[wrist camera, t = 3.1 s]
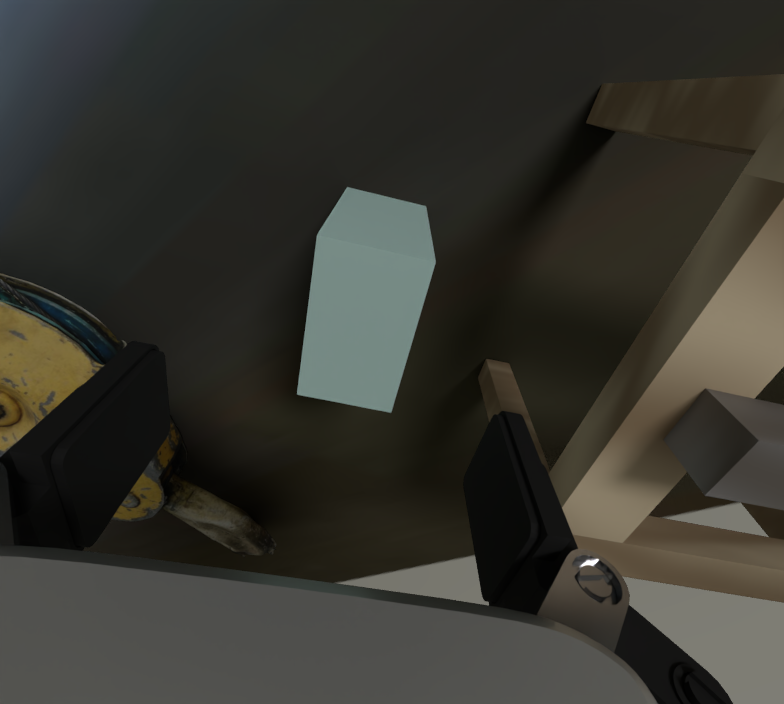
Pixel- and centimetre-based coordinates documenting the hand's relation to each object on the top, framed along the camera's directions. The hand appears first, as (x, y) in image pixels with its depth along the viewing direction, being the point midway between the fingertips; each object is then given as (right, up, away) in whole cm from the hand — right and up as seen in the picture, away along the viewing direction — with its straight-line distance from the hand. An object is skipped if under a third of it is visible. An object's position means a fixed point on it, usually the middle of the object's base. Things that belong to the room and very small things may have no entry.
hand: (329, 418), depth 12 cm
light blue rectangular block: (+1, +7, +10) cm, 12 cm away
